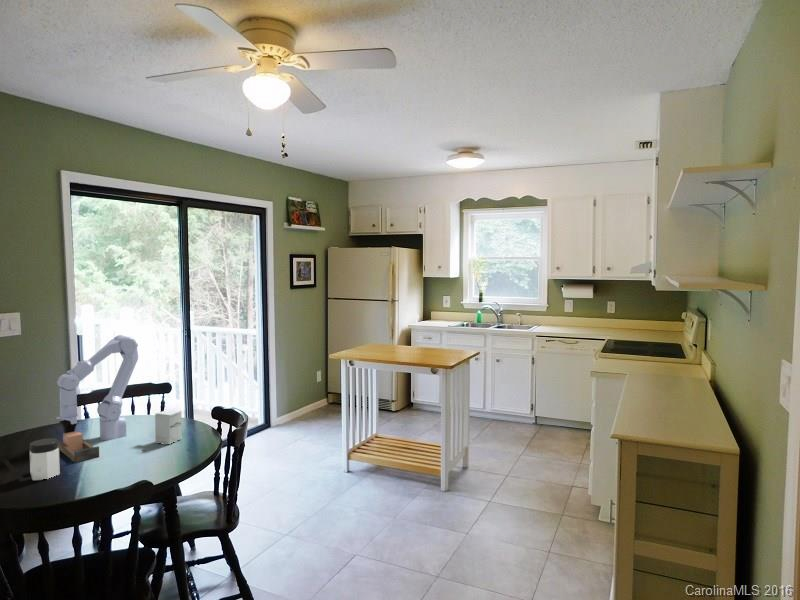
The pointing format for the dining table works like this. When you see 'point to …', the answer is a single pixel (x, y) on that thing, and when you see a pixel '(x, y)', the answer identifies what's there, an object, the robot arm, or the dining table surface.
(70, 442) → the terracotta block
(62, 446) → the brown wooden tray
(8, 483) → the dining table surface
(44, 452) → the jar
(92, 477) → the dining table surface
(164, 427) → the supplement box
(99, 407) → the robot arm
